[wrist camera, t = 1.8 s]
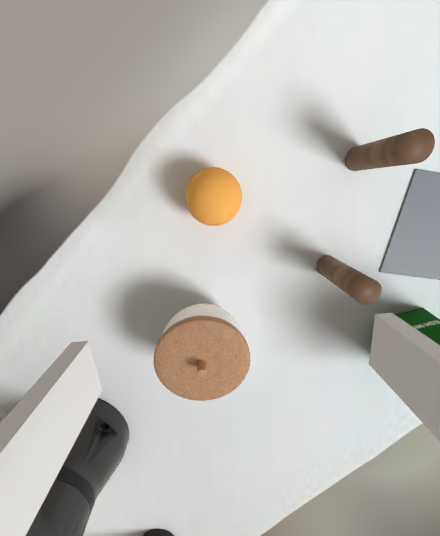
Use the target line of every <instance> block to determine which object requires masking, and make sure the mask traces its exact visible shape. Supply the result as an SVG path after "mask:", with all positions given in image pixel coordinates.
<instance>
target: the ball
mask: <svg viewBox="0 0 440 536" xmlns="http://www.w3.org/2000/svg"><path fill="white" fill-rule="evenodd" d="M185 198H186V204H187V207H188V210H189V212H190V213H191V215H192V216H193V217H194V218H195V219H196V220H198V221H199V222H201V223H203V224H206V225H210V226H218V225H222V224H225V223H227V222H228V221H230V220H231V219H232V218H233V217H234V216H235V215H236V214H237V212H238V210H239V208H240V205H241V200H242V194H241V189H240V186H239V183H238V182H237V180H236V179H235V177H234V176H233V175H232V174H231V173H229V172H228V171H226V170H224V169H221V168H216V167H211V168H206V169H203V170H201V171H199V172H198V173H196V174H195V175H194V176H193V177H192V178H191V180H190V181H189V183H188V186H187V189H186V196H185Z"/></svg>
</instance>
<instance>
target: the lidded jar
mask: <svg viewBox="0 0 440 536" xmlns="http://www.w3.org/2000/svg"><path fill="white" fill-rule="evenodd" d="M249 366H250V352H249V348H248V344H247V342H246V340H245V337H244V334H243V332H242V330H241V328H240V326H239V324H238V323H237V321H236V320H235V318H234V317H233V316H232V315H231V314H230V313H228V312H227V311H226V310H224V309H222V308H220V307H218V306H215V305H212V304H195V305H191V306H188V307H186V308H184V309H182V310H181V311H179V312H178V313H177V314H175V315H174V316H173V318H172V319H171V320H170V321H169V322H168V324H167V325H166V327H165V329H164V330H163V332H162V335H161V338H160V339H159V341H158V344H157V346H156V349H155V353H154V368H155V371H156V374H157V376H158V378H159V379H160V381H161V382H162V384H163V385H164V386H165V387H166V388H167V389H169V390H170V391H171V392H173V393H174V394H176V395H178V396H181V397H183V398H186V399H190V400H203V401H204V400H212V399H216V398H219V397H222V396H224V395H226V394H228V393H230V392H232V391H233V390H234V389H235V388H237V387H238V386H239V385H240V384H241V382H242V381H243V380H244V378H245V377H246V375H247V373H248V370H249Z"/></svg>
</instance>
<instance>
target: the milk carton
mask: <svg viewBox="0 0 440 536" xmlns="http://www.w3.org/2000/svg"><path fill="white" fill-rule="evenodd" d="M396 316H397V317H399V318H400V319H402V320H403V321H405V322H406V323H408V324H409V325H411V326H412V327H414V328H415V329H416V330H418V331H419V332H421V333H422V334H424V335H425V336H427V337H428V338H430V339H431V340H433V341H434V342H436V343H437V344H439V345H440V319H438V318H437V317H435V316H434V315H432V314H431V313H430V312H428V311H427V310H425V309H424V308H422V309H418V310H414V311H410V312H406V313H402V314H398V315H396Z"/></svg>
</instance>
